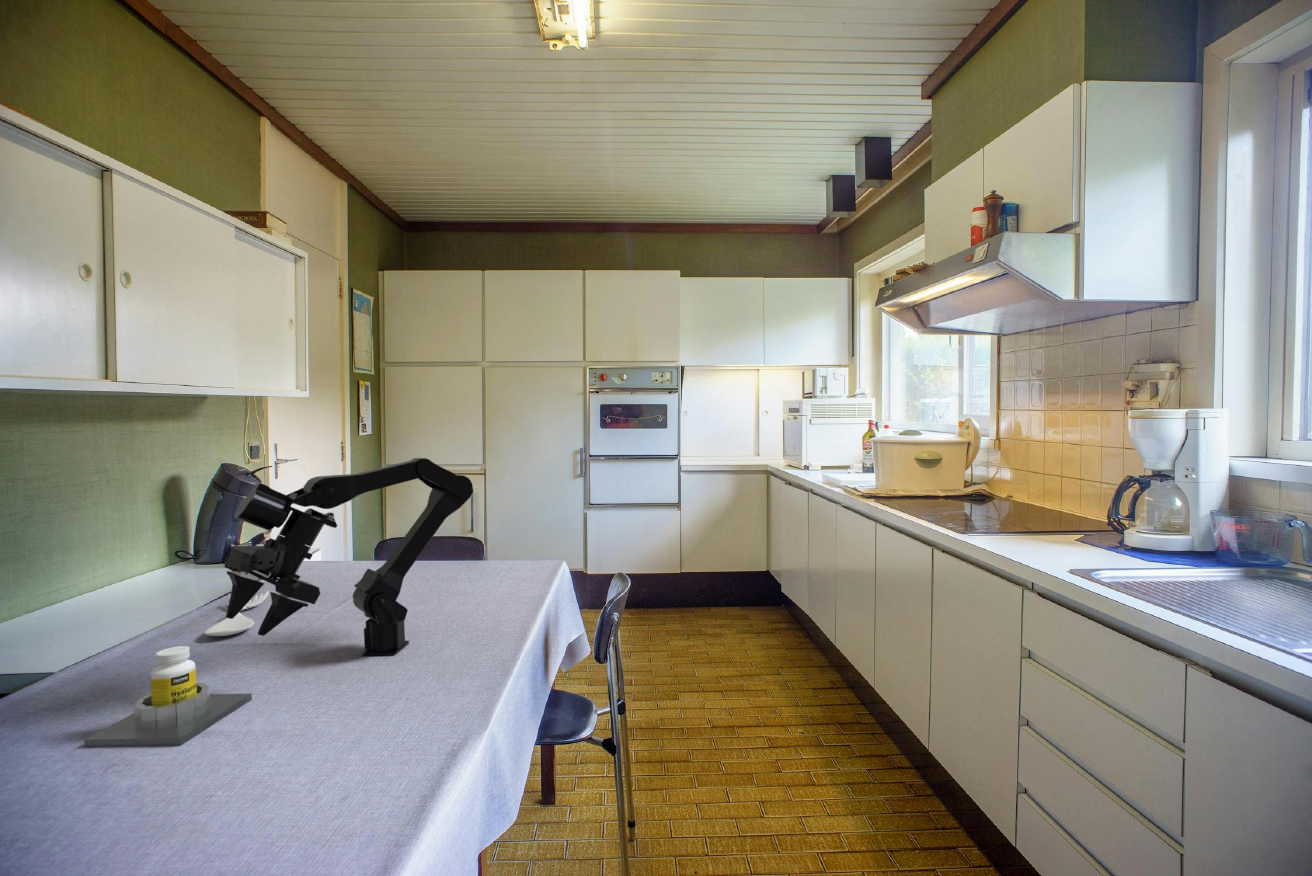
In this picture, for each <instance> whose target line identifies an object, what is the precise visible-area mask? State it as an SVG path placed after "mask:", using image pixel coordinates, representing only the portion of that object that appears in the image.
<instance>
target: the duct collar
mask: <svg viewBox="0 0 1312 876" xmlns="http://www.w3.org/2000/svg"><path fill="white" fill-rule="evenodd" d="M196 688H197V694H196V695H194V696H193V697H191V698H188V699H185V700H182V701H179V702H176V703H172V704H167V705H162V706H152V705H151V692H150V693H148V694H147V695H144V696H143V697H141V698H139V699H137V701H136V702H135V703H134V705H133V706H134V712H133V713H132V714H130V715H128V716H126V717H124V718H122V719H120V720H119V721H117V722H115V723H112V724H111V725H109V726H107V727H106V728H104V729H102V730H100V731H98V732H96V733H94V734H92V735H91V736H89V737H87V738H85V739H84V743H83V744H84V747H86V748H89V747H148V746H149V747H153V746H154V747H155V746H157V747H159V746H161V747H162V746H163V747H164V746H165V747H166V746H182V745H183V744H185V743H187V742H188V741H190V740H192V739H193V738H195V737H197V736H198V735H199V734H202V732H204V731H205V730H207V729H208V728H210V727H212V726H213V725H215V724H216V723H218V722H219V721H221V720H223V719H224V718H226V717H227V716H228V715H231V714H232V713H233V712H235V711H236V710H238V709H240V708H241V707H243V706H244V705H245V704H247V703H248V702H251V701H252V700H253V699H252V697H253V695H252V693H211V694H210V686H209V685H208V684H206V683H204V682H196Z"/></svg>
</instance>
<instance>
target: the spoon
mask: <svg viewBox="0 0 1312 876" xmlns="http://www.w3.org/2000/svg"><path fill="white" fill-rule="evenodd" d="M263 593H264V592H261V593H260V595H259V596H258V594H255V595H254V596H255V597H253V600H252V599H251V600H250V601H249V602H248V603H247V604H246V605H245V606H244V607H243V609H242V610H241V611H243V610H244V609H246V610H249V608H250V609H252V607H253V608H254V607H257V606H258V605H260V604H261V603H263V602H264V601H265V599H266V598H267V597H268V596H269V594H270V591H269V590H268V589H267V591H266V592H265V593H264V594H263ZM230 596H231V594H230V595H229V598H228V602H229V601H230ZM241 611H240V612H239V613H238V614H237V615H236V616H235V617H234V618H233V619H229V618H224V619H222V620H221V621H219V622H217V623H215V624H213V625H212V626H210V627H209V628H207V629H205V631H204V632H203V634H204V635H206V636H211V637H227V636H228V637H229V636H233V635H236V634H240V633H242V632H245V631H247V630H248V629H250V628H252V627H253V626H254V625H255V621H254V620H253V619H251V618H249V617H247V616H245V615H244V614H241Z"/></svg>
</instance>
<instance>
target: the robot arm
mask: <svg viewBox="0 0 1312 876" xmlns="http://www.w3.org/2000/svg"><path fill="white" fill-rule="evenodd" d="M414 480H419V481H420V482H422V483H423V484H424V485H426V486H427V487H429V488H430V489H431V490H430V492H429V495H428V500H427V504H426V507H425V508H424V510H423V511H422V513H421V514H420V515H419V516H418V518H417V519H416V521H414V523H413V525H412V526H411V527H410V528H409V530H408V531H407V533H406V534H405V535H404V537H403V538H402V539H401V541H400V542H399V544H398V545H397V546H396V547H395V549H394V550H393V551H392V553H391V554H390V556H389V557H388V559H387V560H386V561H385V562H384V564H383V565H382V566H381V567H379V568H378V569H376V570H373V569H371V568H367V569H366V570H365V572H364V573H363V576H362V577H361V579H360V580H359V581H358V582H357V583H356V584H354V586H353V587H354V588H355V589H354V592H353V594H352V602H353V605H354V607H355V608H357V609H358V610H359V611H361V612H363V615H364V617H365V618H368V619H367V620H365V627H364V628H363V643H364V649H365V650H364V651H362V656H393V655H396V654H398V653H400V651H401V650H403V649H404V648H405V647H406V646H407V645H409V644H410V640H406V633H405V630H406V629H405V620H406V617H407V614H408V608H406V607H405V606H404V605H402V604H401V603H400V602H398V601H397V600H398V598H399V595H400V594H401V591H402V590H401V589H402V587H403V586H402V585H403V583H404V579H405V576H406V575H407V574H408V572H409V570H410V569H411V568H412V566H413V565H414V564H415V562H416V561H417V560H418V558H419V557H420V555H421V553H422V552H423V551H424V550H425V548H427V545H428V544H429V542H431V540H432V538H433V537H434V536H435V534H436V533H437V531H438V530H439V528H440V527H441V525H442V524H443V523H444V522H445V520H446V519H447V518H448V517H449V516H451V515H452V514H453V513H455V512H457V511H458V510H459V509H460V508H461V507H463V506H464V504H465V503H466V502H468V500H469V499H470V498H471V497H472V495H473V493H474V487H473V483H472V480H471V479H470V478H469V477H468V476H466V475H461V474H455V473H454V472H452V471H450V470H448V469H446V468H444V467H442V466H440V465H438V464H436V463H434V462H433V461H432V460H430V459H429V458H426V457H425V458H424V457H415V458H412V459H410V460H407V461H402V462H399V463H394V464H391V465H387V466H382V467H379V468H378V467H377V468H374V469H370V470H366V471H365V470H364V471H362V472H357V473H350V474H349V473H348V474H334V475H333V474H332V475H320V476H319V475H318V476H314V477H311V478H310V479H308V480H307V481H306V483H305V484H304V485H303V487H301V488H298V489H297V490H295V491H292V492H290V493H288V494H284V493H282V492H279V491H278V490H274V489H273V488H271V487H270V486H268V485H266V484H264V483H261V482H258V483H257V484H256V485H255V486H254V488H253V489H252V490H251V491H249V493H248V494H247V496H246V497H244V498H243V499H242V500H241V502H240V503H239V505H238V507H237V509H236V511H235V514H234V519H237V520H239V521H242V522H245V523H247V524H249V525H253V526H255V527H256V528H257V527H258V528H261V529H263V530H266V531H268V532H269V531H272V530H273V529H274V528H277V529H280V527H282V528H281V529H280V531H279V533H278V535H277V536H276V538H275V539H273V538H272V537H270V538H269V539H267V540H266V541H265V543H264V544H263V545H235V546H232V547H231V550H230V554H229V557H228V560H227V562H226V563H225V564H224V566H223V567H224V568H225V569H228V570H227V571H226V574H227V575H228V576H229V579H230V581H231V583H232V587H231V591H230V595H231V596H230V595H229V596H230V601H229V600H228V605H227V610H226V615H225V617H226V618H229V619H233V618H234V617H235V616H236V615H237V614H238V613H239V612H240V613H241V610H242V609H243V607H244V606H245V605H246V604H247V603H248V602H249V601H250V600H251V601H252V598H254V596H256V595H257V593H258V592H259V590H260V589H261V588H262V587H263V586H264V585H265V583H264V582H262V581H265V582H267V583H270V584H271V585H273V586H274V587H275V588H274V589H275V592H273V591H270V592H269V594H270V597H271V598H270V599H271V605H270V606H269V608H268V611H267V612H266V614H265V617H264V618H263V620H262V622H261V625H260V626H259V629H258V631H257V635H258V636H261V637H262V636H263V637H264V636H265V635H267V634H268V633H270V632H272V630H273V629H275V628H276V627H277V626H279V625H280V624H281V623H283V622H284V621H285V620H286V619H288V618H289V617H290V616H292V615H294V614H295V613H296V612H297V611H300V609H302V608H304V607H305V608H307V607H309V604H312V605H315V604H316V603H317V601H318V599H319V597H320V595H321V591H320V587H318V586H316V585H314V584H312V583H310V582H307V581H305V580H303V579H302V580H301V579H300V578H301V575H299V574H297V572H298V571H299V569H300V568H301V566H302V564H303V562H304V561H305V559H307V560H311V559H312V557H313V553H311V552H310V550H311V548H312V547H313V545H314V544H315V543H314V542H315V541H316V539H317V538H318V536H319V534H320V533H321V531H322V529H323V528H324V525H325V526H328V527H330V528H333V529H334V528H337V527H338V523H336V519H335V513H333V512H327V513H322V512H320V511H318V510H316V509H313V508H308V507H315V508H318V509H322V510H323V509H324V510H329V509H334V508H337V507H338V506H342V505H344V504H346V503H348V502H351V500H353V499H355V498H356V497H358V496H361V495H362V494H365V493H368V492H371V491H376V490H380V489H384V488H387V487H391V486H395V485H398V484H403V483H406V482H409V481H414ZM292 505H297V506H300V507H304V508H306V507H307V509H306V510H304V511H302V510H300V509H298V508H296V507H293V506H292ZM229 570H230V571H229ZM258 579H259V580H258ZM260 580H262V581H260ZM242 611H243V610H242ZM226 618H225V619H226Z"/></svg>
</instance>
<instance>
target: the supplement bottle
mask: <svg viewBox="0 0 1312 876" xmlns="http://www.w3.org/2000/svg"><path fill="white" fill-rule="evenodd" d="M190 655H191V654H190V647H189V646H187V645H179V646H173V647H172V646H171V647H168V648H165V649H162V650H160V651H157V652H156V653H155V662H156V665H157V666H155V667H154V668H153V669H152V670H151V671H150V676H149V678H150V693H151V705H152V706H162V705H167V704H172V703H176V702H179V701H182V700H185V699H188V698H191V697H193V696H194V695H196V694H197V688H196V683H197V668H196V663H195V662H194V661H193V660H191V659H189V658H190Z"/></svg>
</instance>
